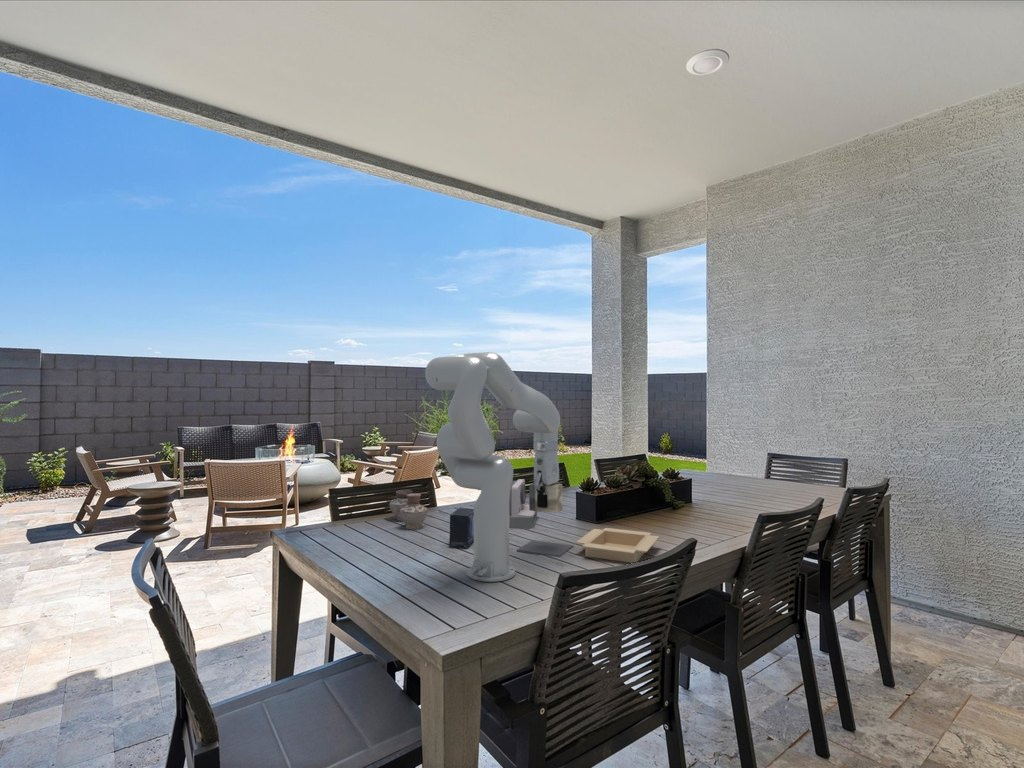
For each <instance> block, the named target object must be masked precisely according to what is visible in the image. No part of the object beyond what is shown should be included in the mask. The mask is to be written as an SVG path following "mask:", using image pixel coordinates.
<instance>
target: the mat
mask: <svg viewBox="0 0 1024 768" xmlns="http://www.w3.org/2000/svg"><path fill="white" fill-rule="evenodd" d="M574 547H575V546H574V545H572V544H565V543H557V542H550V541H544V540H543V541H542V540H534V539H532V540H531V541H529V542H527V543H525V544H524V545H522V546H520V547H519V548H517V549H516V552H518V553H525V554H531V555H538V556H541V555H545V556H551V557H552V556H553V557H558V558H560V557H562V556H563V555H564V554H566V553H568V551H569V550H571V549H572V548H574Z"/></svg>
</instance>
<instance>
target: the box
mask: <svg viewBox="0 0 1024 768" xmlns="http://www.w3.org/2000/svg"><path fill="white" fill-rule="evenodd" d="M541 484H544V483H543V482H542V483H541ZM528 486H529V487H528V488H529V492H528V493H529V496H528V497H529V502H528V503H529V510H530V511H537V512H543V513H549V514H551V513H552V514H558V513H560V512H561V511H563V483H555V484H551V485H547V492H546V495H547V502H548V507H547V508H540V507H537V490H536V487H535V482H532V483H530V484H528ZM541 487H543V489H544V486H541Z"/></svg>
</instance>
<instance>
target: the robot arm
mask: <svg viewBox="0 0 1024 768" xmlns="http://www.w3.org/2000/svg"><path fill="white" fill-rule="evenodd" d="M424 376H425V380H426V382H427V384H428V386H430V387H431V388H432V389H434V390H437V391H454V392H453V396H452V398H451V401H450V402H449V406H448V410H447V415H448V419H449V422H448V423H446V424H443V425H442V426H441V427H440V428H439V430H438V433H437V434H436V435H437V436H436V448H437V451H438V454H439V456H440V458H441V461H442V462H443V465H444V466H445V468H446V470H447V472H448V474H449V476H450V478H451V479H452V481H453V483H454V484H455V485H457V486H458V487H460V488H464V489H470V490H471V489H472V490H477V491H480V494H479V496H478V497H477V499H476V500H475V503H474V507H473V509H474V543H473V561H472V562H473V563H472V566H470V567H469V568H468V569H467V570H466V576H468V577H469V578H470V579H472V580H474V581H479V582H486V583H490V582H491V583H492V582H493V583H494V582H495V583H496V582H502V581H508V580H510V579H512V578H514V577H515V574H516V569H515V568H514V566H511V565H510V528H509V503H510V491H511V485H512V481H514V480H513V479H514V467H513V464H512V463H511V461H510V460H509V459H508V458H505V456H501V455H495V454H494V452H495V450H496V449H495V448H496V441H495V439H494V435H493V433H492V430H491V428H490V426H489V424H488V421H487V419H486V416H485V415H484V412H483V409H482V405H481V404H482V403H481V400H482V395H483V391H484V387H485V388H486V389H487V391H489V392H490V394H491V395H492V396H493V397H494V398H495V400H496V401H497V402H498V403H499V404H500V405H502V406H505V407H506V408H509V409H513V410H516V411H515V412H514V413H513V416H512V424H513V426H514V428H515V429H516V430H518V431H519V432H523V433H533V452H534V460H533V461H534V463H533V481H534V482H533V483H535V487H536V490H537V507H540V508H547V507H548V502H547V495H546V492H547V485H551V484H557V483H558V482H559V480H560V467H559V466H560V465H559V454H558V453H559V441H558V440H559V435H558V434H559V433H558V432H559V430H558V429H559V428H560V425H561V415H560V412H559V410H558V408H557V407H556V406H555V404H554V403H553V402H552V400H551V399H550V398H549V397H548V396H546V394H544V393H542V392H540V391H538V390H536V389H534V388H533V387H532V386H529V385H527V384H526V383H523V382H521V380H520V379H519V377H518V376H517V375H516V374H515V372H514V371H513V369H512V368H511V367H510V366H509V365H508V363H507V362H506V361H505V360H504V358H503V357H502V356H501V355H500V354H498V353H496V352H492V351H491V352H489V351H488V352H487V351H486V352H469V353H461V354H456V355H448V356H440V357H435V358H432V359H431V360H429V362H428V363H427V365H426V367H425V371H424ZM541 483H544V484H541ZM541 486H544V489H543V487H541Z"/></svg>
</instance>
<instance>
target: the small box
mask: <svg viewBox="0 0 1024 768" xmlns="http://www.w3.org/2000/svg"><path fill="white" fill-rule="evenodd" d="M448 539H449V544H448V548H456V549H468V548H470V547H471V546H472V545H474V508H468V507H466V508H464V507H459V508H457V509H456V510H454V511H453V512H451V513H450V514H449V538H448Z"/></svg>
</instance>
